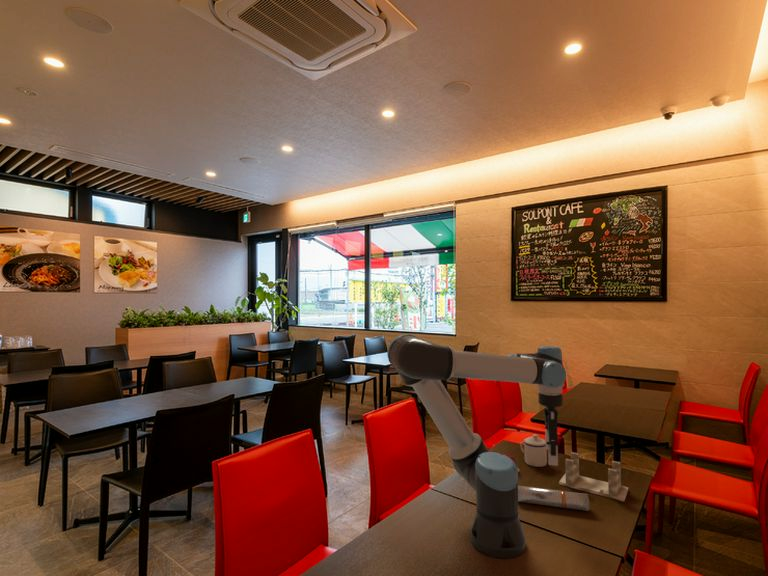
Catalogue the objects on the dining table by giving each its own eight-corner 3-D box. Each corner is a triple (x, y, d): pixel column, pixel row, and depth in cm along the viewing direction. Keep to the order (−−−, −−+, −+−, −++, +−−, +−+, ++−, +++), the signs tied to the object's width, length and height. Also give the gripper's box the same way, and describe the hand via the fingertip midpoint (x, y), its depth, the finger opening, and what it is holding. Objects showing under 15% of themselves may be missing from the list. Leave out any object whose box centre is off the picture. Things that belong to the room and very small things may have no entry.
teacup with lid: (552, 464, 169) (551, 435, 169) (538, 469, 164) (537, 440, 164) (527, 454, 179) (527, 428, 179) (514, 459, 174) (513, 432, 174)
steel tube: (517, 501, 136) (517, 485, 139) (517, 501, 141) (517, 485, 143) (589, 511, 130) (588, 494, 132) (587, 510, 134) (586, 493, 136)
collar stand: (559, 484, 151) (558, 458, 151) (566, 474, 159) (565, 450, 159) (624, 501, 138) (623, 473, 138) (628, 490, 146) (627, 463, 146)
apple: (520, 475, 159) (520, 458, 159) (499, 474, 161) (499, 457, 161) (518, 467, 167) (517, 451, 167) (497, 465, 168) (497, 449, 169)
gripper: (567, 403, 123) (568, 473, 122) (558, 385, 147) (559, 444, 146) (540, 401, 125) (541, 470, 125) (536, 384, 149) (537, 442, 149)
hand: (551, 456), depth 135 cm, fingers open, 13 cm apart
